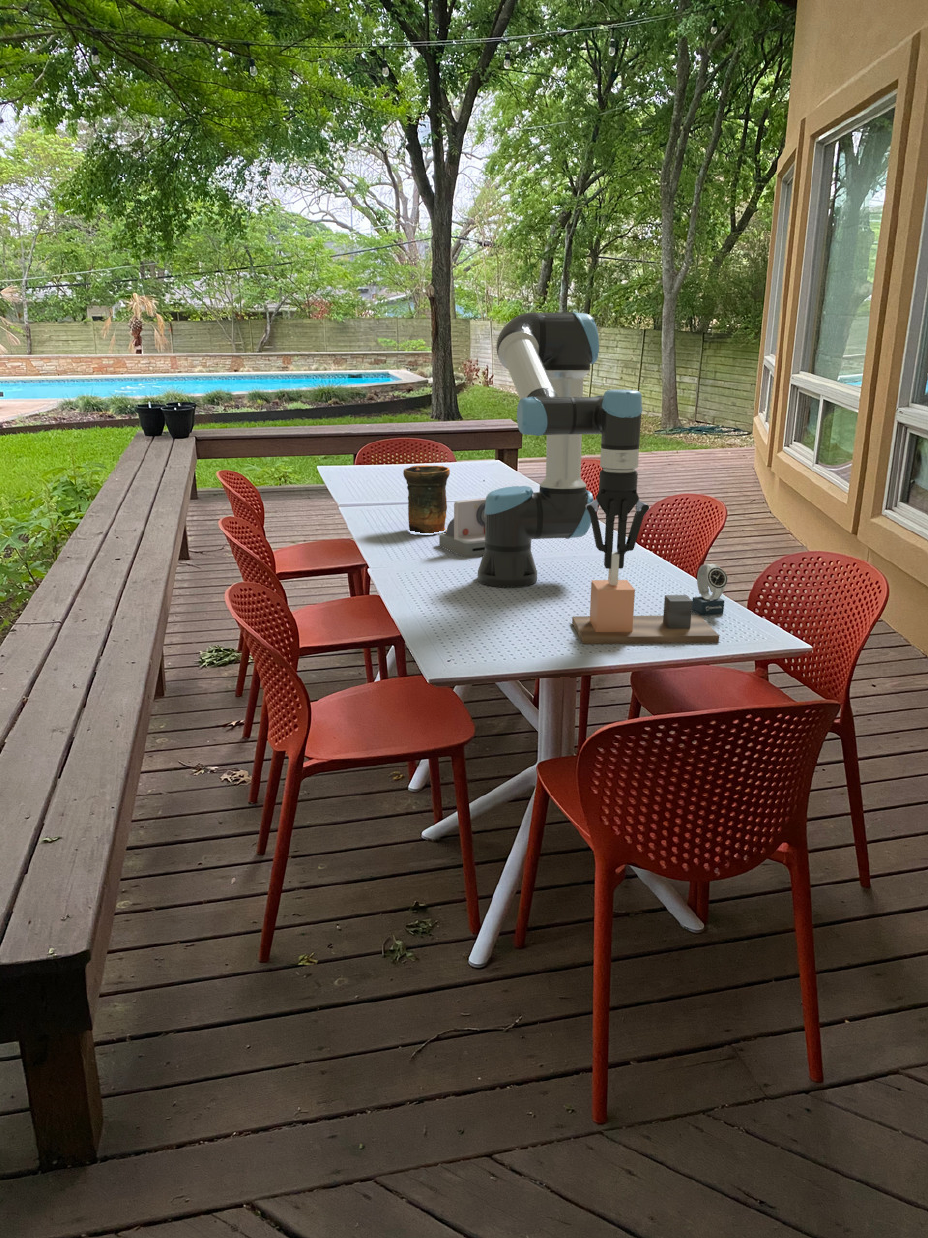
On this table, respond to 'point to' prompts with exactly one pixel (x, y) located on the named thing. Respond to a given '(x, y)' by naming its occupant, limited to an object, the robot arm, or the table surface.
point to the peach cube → (612, 606)
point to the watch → (716, 582)
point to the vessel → (426, 497)
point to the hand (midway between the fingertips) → (612, 583)
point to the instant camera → (466, 529)
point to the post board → (654, 627)
